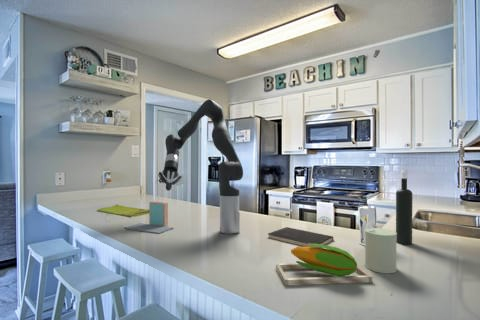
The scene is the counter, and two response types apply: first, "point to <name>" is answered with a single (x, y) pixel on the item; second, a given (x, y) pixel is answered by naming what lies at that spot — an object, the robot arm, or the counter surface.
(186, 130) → the robot arm
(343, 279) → the corn rest
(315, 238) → the hardcover book
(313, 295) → the counter surface
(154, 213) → the tile
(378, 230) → the can
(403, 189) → the wine bottle
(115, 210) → the dish towel
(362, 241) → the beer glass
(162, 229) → the mat
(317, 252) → the corn
